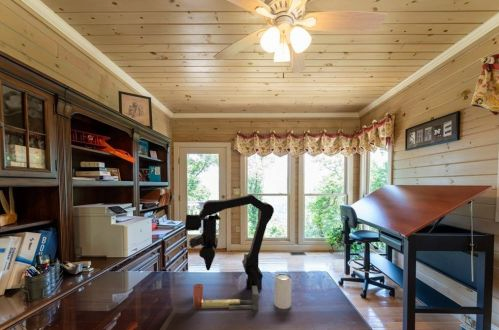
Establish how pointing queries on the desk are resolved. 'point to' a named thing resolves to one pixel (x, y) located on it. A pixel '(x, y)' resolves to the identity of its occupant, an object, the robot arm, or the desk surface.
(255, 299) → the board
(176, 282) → the desk surface
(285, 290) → the can
